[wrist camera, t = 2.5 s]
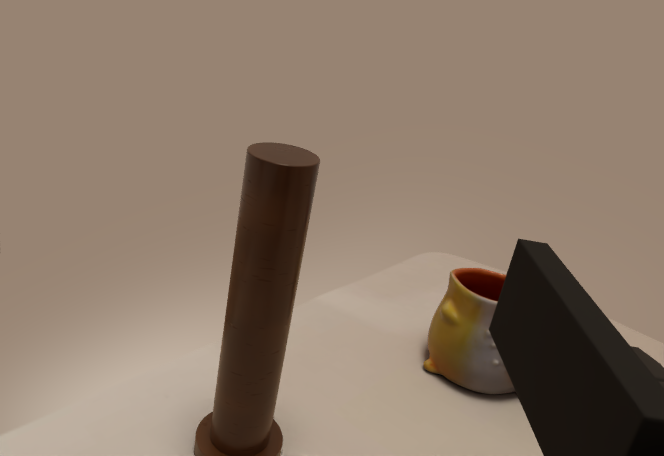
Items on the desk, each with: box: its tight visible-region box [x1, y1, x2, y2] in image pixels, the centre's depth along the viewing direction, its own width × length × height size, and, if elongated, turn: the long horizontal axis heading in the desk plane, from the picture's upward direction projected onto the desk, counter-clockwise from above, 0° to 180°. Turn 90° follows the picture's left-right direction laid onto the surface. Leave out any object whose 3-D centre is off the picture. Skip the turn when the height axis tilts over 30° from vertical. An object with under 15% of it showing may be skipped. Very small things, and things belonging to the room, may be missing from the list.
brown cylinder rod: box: [194, 143, 320, 456], centre depth 27 cm, size 4×4×16 cm
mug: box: [424, 268, 516, 394], centre depth 38 cm, size 12×7×7 cm, turn 56°
